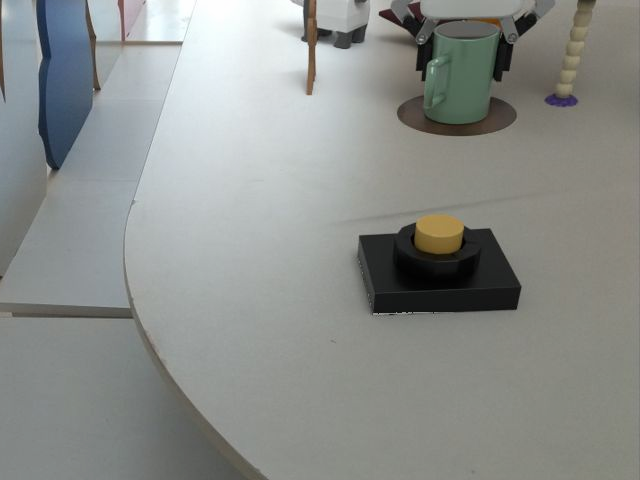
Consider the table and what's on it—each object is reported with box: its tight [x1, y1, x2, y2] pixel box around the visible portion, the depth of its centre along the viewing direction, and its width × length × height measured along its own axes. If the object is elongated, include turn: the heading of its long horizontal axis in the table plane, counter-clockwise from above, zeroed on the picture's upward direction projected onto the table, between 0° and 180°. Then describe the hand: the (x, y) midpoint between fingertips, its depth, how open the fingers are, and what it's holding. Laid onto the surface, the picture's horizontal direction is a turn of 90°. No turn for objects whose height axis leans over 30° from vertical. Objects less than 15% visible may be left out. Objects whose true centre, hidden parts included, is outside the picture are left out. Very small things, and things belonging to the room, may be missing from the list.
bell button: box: [414, 213, 465, 254], centre depth 62 cm, size 4×4×2 cm
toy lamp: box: [543, 0, 597, 108], centre depth 84 cm, size 5×5×17 cm
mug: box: [422, 20, 502, 125], centre depth 85 cm, size 10×7×9 cm
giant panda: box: [290, 0, 371, 49], centre depth 115 cm, size 15×6×10 cm, turn 43°
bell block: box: [357, 221, 523, 314], centre depth 64 cm, size 11×9×4 cm
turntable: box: [396, 95, 518, 137], centre depth 89 cm, size 13×13×1 cm
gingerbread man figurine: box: [306, 0, 318, 96], centre depth 97 cm, size 9×4×12 cm, turn 167°
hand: (460, 76), depth 86 cm, fingers closed on mug, 6 cm apart
